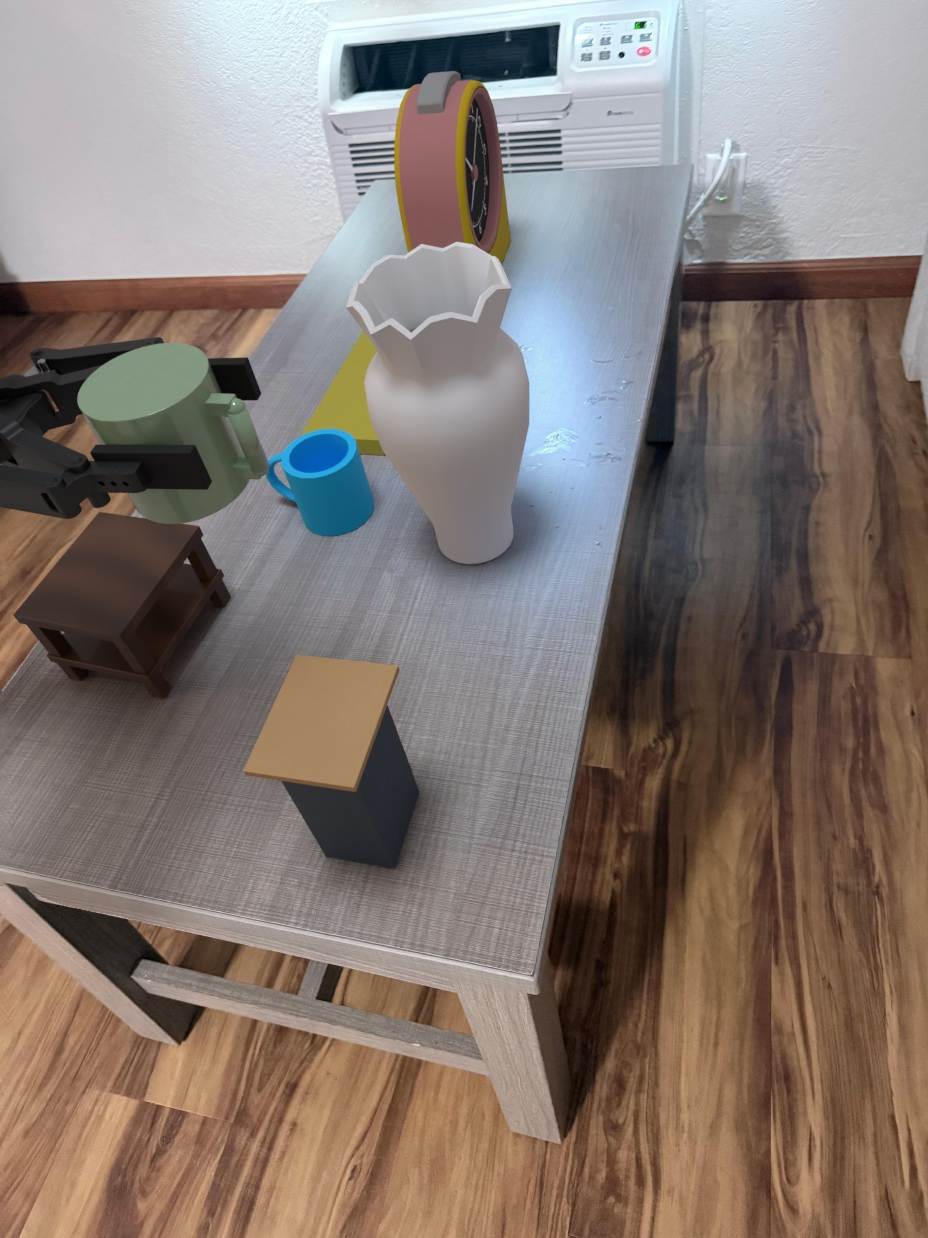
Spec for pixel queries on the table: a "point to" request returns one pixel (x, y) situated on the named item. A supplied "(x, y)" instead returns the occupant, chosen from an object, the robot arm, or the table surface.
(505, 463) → the vase
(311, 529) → the mug
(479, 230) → the alarm clock
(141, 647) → the rack
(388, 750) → the stand
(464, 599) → the table surface
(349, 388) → the flat olive board
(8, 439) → the robot arm
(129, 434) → the green coffee cup
